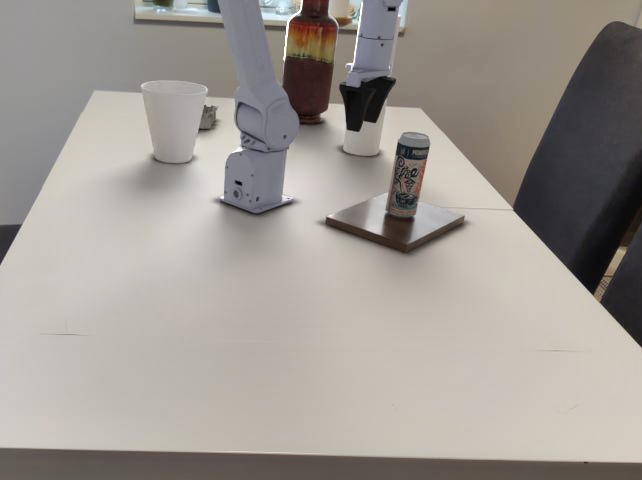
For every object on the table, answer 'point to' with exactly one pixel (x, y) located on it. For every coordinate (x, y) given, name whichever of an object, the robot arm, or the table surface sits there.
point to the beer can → (407, 174)
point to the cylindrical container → (370, 132)
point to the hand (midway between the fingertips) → (361, 126)
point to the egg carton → (208, 117)
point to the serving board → (394, 223)
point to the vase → (310, 60)
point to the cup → (173, 117)
